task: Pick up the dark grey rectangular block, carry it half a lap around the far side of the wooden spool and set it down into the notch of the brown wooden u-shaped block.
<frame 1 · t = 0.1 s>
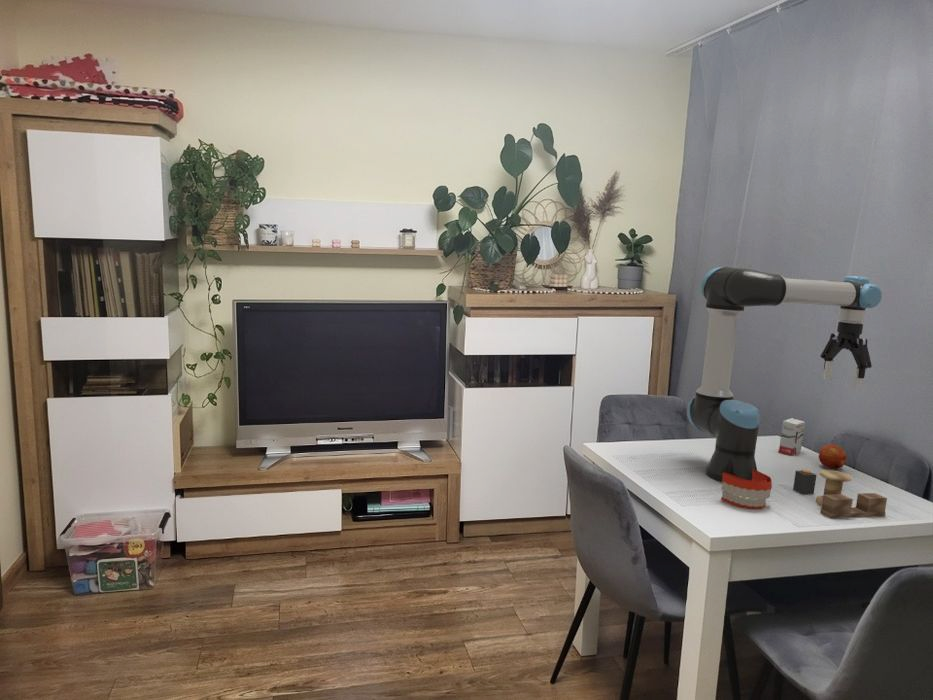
hand: (841, 383, 244), 28 cm above the table, fingers open, 13 cm apart
apple: (831, 468, 241), on the table
wooden spool: (830, 503, 204), on the table
brown wooden u-shaped block: (852, 514, 196), on the table
ink box: (789, 453, 257), on the table
dark grey rectangular block: (803, 492, 213), on the table
toy: (748, 505, 199), on the table
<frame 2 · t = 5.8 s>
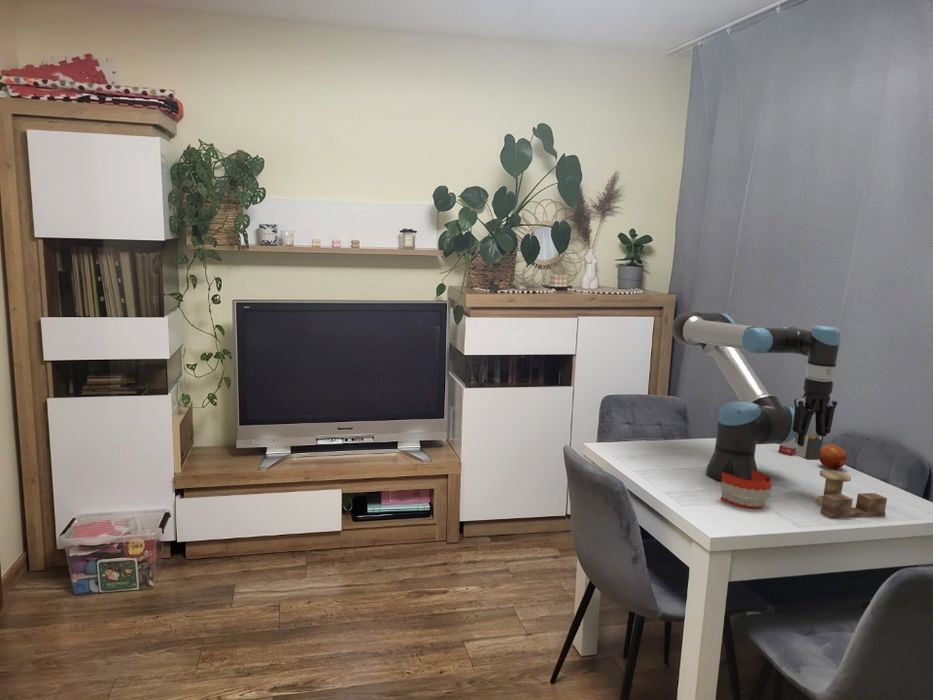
hand: (807, 455, 212), 11 cm above the table, fingers closed on dark grey rectangular block, 4 cm apart
dark grey rectangular block: (808, 457, 211), point 11 cm above the table, touching gripper
everything else where it was.
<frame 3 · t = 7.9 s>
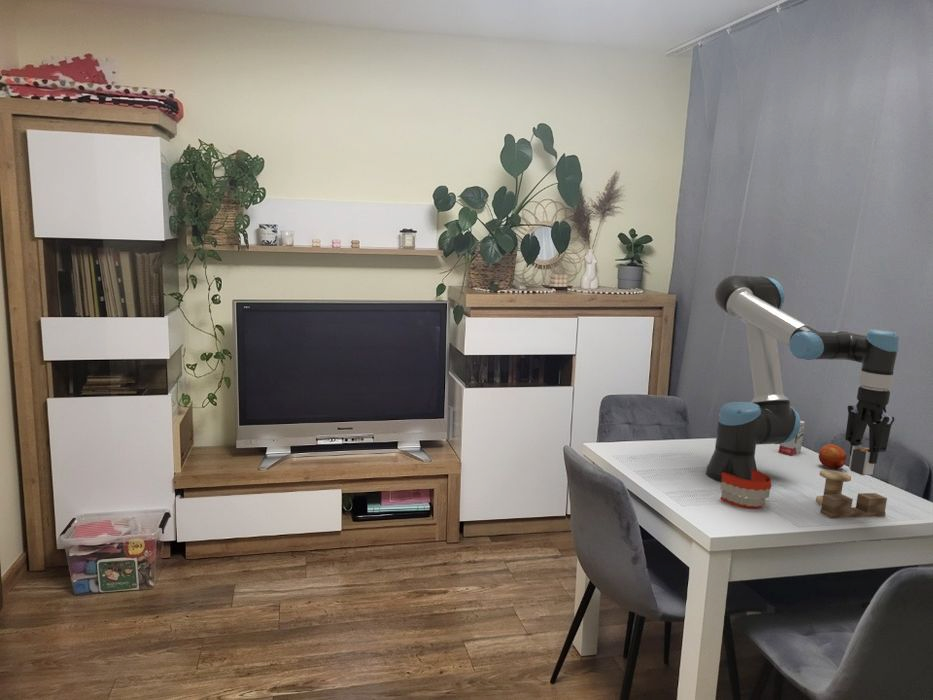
hand: (860, 471, 195), 12 cm above the table, fingers closed on dark grey rectangular block, 4 cm apart
dark grey rectangular block: (861, 472, 195), point 12 cm above the table, touching gripper
everything else where it was.
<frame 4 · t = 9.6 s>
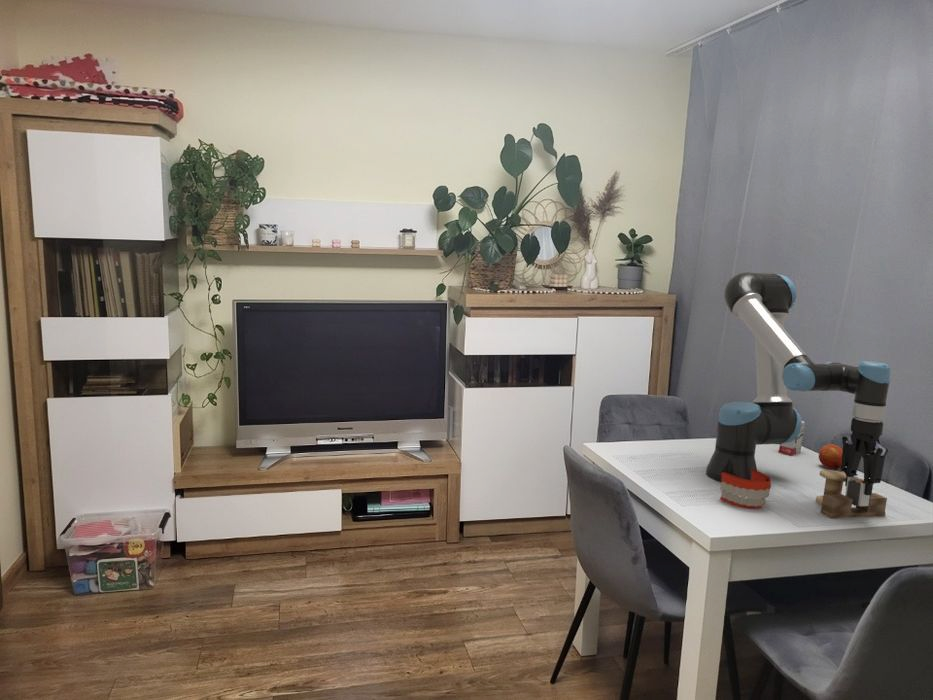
hand: (856, 502, 195), 4 cm above the table, fingers closed on dark grey rectangular block, 4 cm apart
dark grey rectangular block: (857, 503, 195), point 3 cm above the table, touching gripper
everything else where it was.
when the fingers open (3 cm above the table, at t = 10.3 s): dark grey rectangular block stays where it is, resting on brown wooden u-shaped block.
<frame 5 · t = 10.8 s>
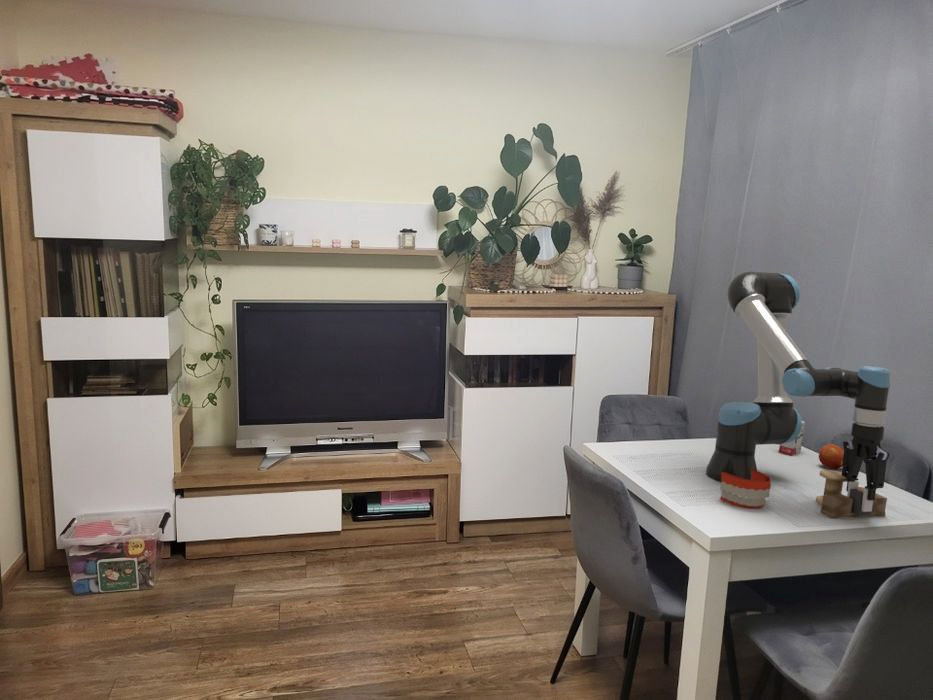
hand: (858, 507, 194), 3 cm above the table, fingers open, 5 cm apart
dark grey rectangular block: (858, 512, 195), point 1 cm above the table, touching brown wooden u-shaped block
everything else where it was.
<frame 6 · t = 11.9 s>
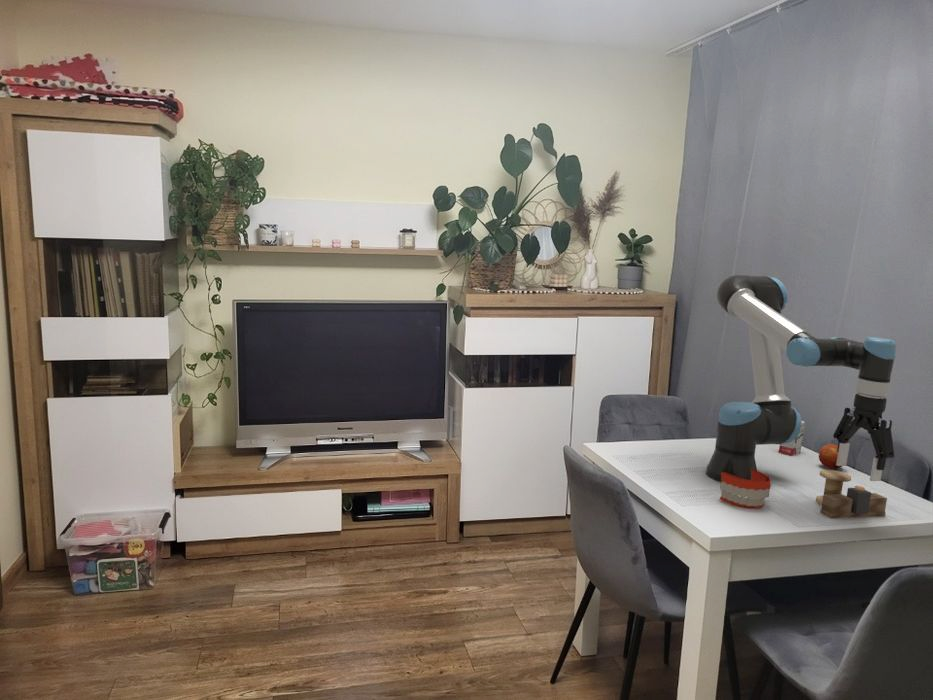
hand: (857, 472, 195), 12 cm above the table, fingers open, 11 cm apart
nothing on the table moved.
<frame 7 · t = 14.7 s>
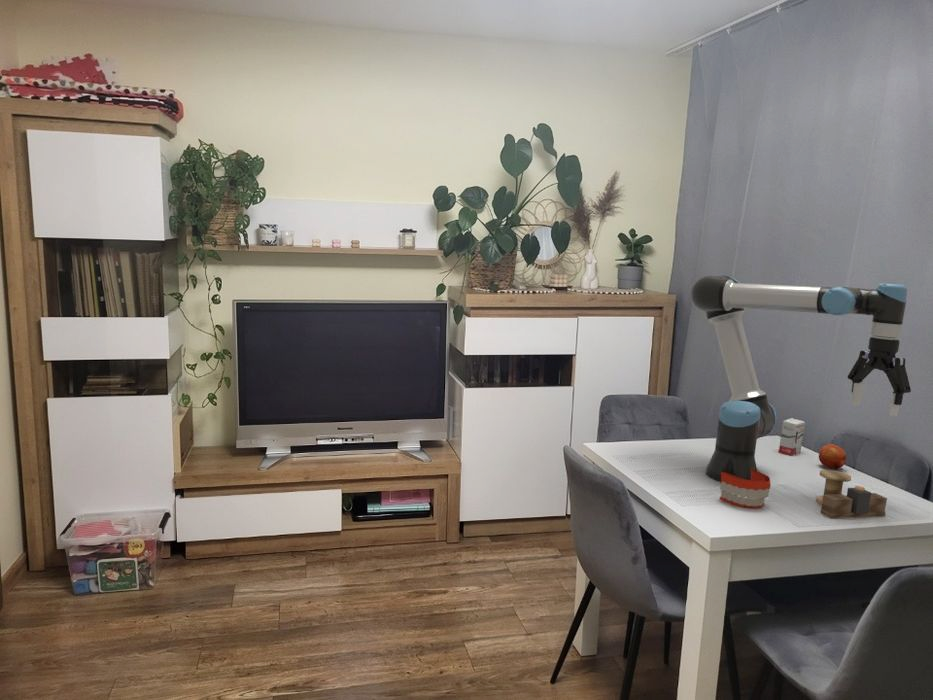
hand: (873, 409, 207), 27 cm above the table, fingers open, 13 cm apart
nothing on the table moved.
at the end: dark grey rectangular block 0.8 cm off-centre on the brown wooden u-shaped block, point 1.2 cm above the brown wooden u-shaped block's base; dark grey rectangular block tilted 0°; the gripper is holding nothing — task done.
